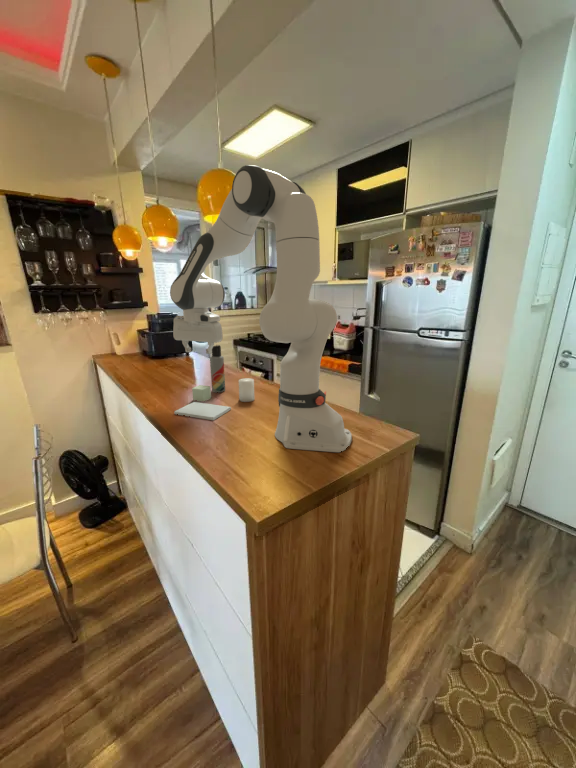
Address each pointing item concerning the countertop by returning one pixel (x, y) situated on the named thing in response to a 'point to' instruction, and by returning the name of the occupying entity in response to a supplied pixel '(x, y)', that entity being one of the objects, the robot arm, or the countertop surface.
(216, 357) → the lotion bottle
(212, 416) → the tray
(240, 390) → the white rounded cylinder
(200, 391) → the sage block
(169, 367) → the countertop surface
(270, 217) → the robot arm
